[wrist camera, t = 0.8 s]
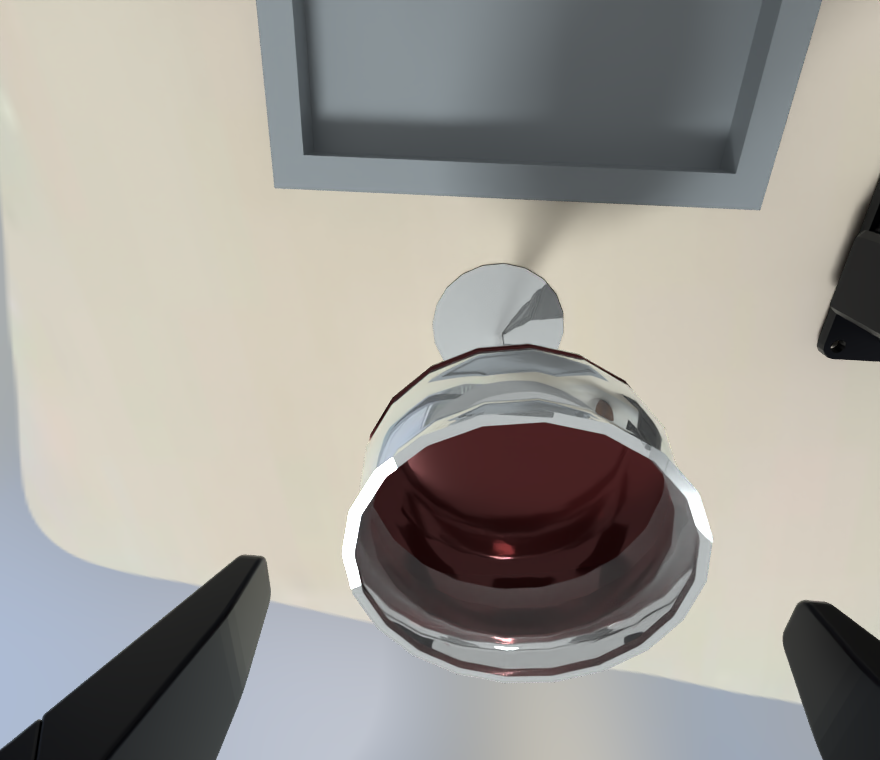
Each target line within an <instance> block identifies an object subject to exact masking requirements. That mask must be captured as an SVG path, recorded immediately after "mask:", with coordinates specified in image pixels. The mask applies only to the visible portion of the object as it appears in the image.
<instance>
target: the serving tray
mask: <svg viewBox="0 0 880 760" xmlns="http://www.w3.org/2000/svg"><path fill="white" fill-rule="evenodd" d="M821 2H822V0H256V5H257V15H258V26H259V36H260V46H261V56H262V66H263V76H264V86H265V96H266V106H267V116H268V127H269V137H270V147H271V157H272V167H273V177H274V187H275V188H283V189H305V190H327V191H349V192H371V193H393V194H415V195H437V196H459V197H481V198H503V199H525V200H547V201H569V202H591V203H613V204H635V205H657V206H679V207H701V208H723V209H745V210H760V209H761V205H762V202H763V199H764V195H765V192H766V188H767V185H768V182H769V178H770V175H771V171H772V168H773V165H774V161H775V158H776V155H777V151H778V148H779V144H780V141H781V138H782V134H783V131H784V127H785V124H786V121H787V117H788V114H789V110H790V107H791V104H792V100H793V97H794V93H795V90H796V87H797V83H798V80H799V77H800V73H801V70H802V66H803V63H804V60H805V56H806V53H807V49H808V46H809V43H810V39H811V36H812V32H813V29H814V26H815V22H816V19H817V15H818V12H819V9H820V5H821Z"/></svg>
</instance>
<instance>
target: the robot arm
mask: <svg viewBox="0 0 880 760" xmlns="http://www.w3.org/2000/svg"><path fill="white" fill-rule="evenodd" d="M830 306H831V308H830V311H829V313H828V316H827V319H826V321H825V324H824V326H823V329H822V332H821V334H820V337H819V339H818V343H817V348H818V350H819V351H820V352H821V353H822V354H824V355H825V356H826V357H828V358H831V359H843V360H861V361H879V362H880V181H879V183H878V185H877V188H876V191H875V193H874V196H873V198H872V201H871V204H870V206H869V209H868V211H867V214H866V217H865V219H864V222H863V224H862V227H861V230H860V232H859V235H858V236H857V237H856V238H855V240H854V243H853V246H852V248H851V251H850V254H849V256H848V259H847V261H846V264H845V267H844V269H843V272H842V274H841V277H840V280H839V282H838V285H837V288H836V290H835V293H834V295H833V298H832V301H831V303H830ZM837 340H839V343H838V344H837V346H835V347H834V348H831V345H832V344H833V343H834V342H835V341H837ZM270 596H271V588H270V581H269V575H268V568H267V562H266V559H265V558H264V557H262V556H256V555H241V556H239V557H237V558H236V559H235V560H233V561H232V562H231V563H230V564H228V565H227V566H226V567H225V568H224V569H222V570H221V571H220V572H219V573H217V574H216V575H215V576H214V577H213V578H211V579H210V580H209V581H208V582H206V583H205V584H204V585H203V586H201V587H200V588H199V589H198V590H197V591H195V592H194V593H193V594H192V595H190V596H189V597H188V598H187V599H185V600H184V601H183V602H182V603H181V604H179V605H178V606H177V607H176V608H174V609H173V610H172V611H171V612H169V613H168V614H167V615H166V616H165V617H163V618H162V619H161V620H160V621H159V622H157V623H156V624H155V625H153V626H152V627H151V628H150V629H149V630H147V631H146V632H145V633H144V634H142V635H141V636H140V637H139V638H138V639H136V640H135V641H134V642H133V643H131V644H130V645H129V646H128V647H126V648H125V649H124V650H123V651H122V652H120V653H119V654H118V655H117V656H115V657H114V658H113V659H112V660H111V661H109V662H108V663H107V664H106V665H104V666H103V667H102V668H101V669H100V670H98V671H97V672H96V673H95V674H93V675H92V676H91V677H90V678H88V679H87V680H86V681H85V682H83V683H82V684H81V685H80V686H78V687H77V688H76V689H75V690H74V691H72V692H71V693H70V694H69V695H67V696H66V697H65V698H64V699H63V700H61V701H60V702H59V703H58V704H57V705H55V706H54V707H53V708H51V709H50V710H49V711H48V712H47V713H45V714H44V716H43V718H42V720H40V719H39V720H37V721H35V722H34V723H33V724H31V725H30V726H29V727H28V728H27V729H25V730H24V731H23V732H22V733H20V734H19V735H18V736H17V737H16V738H14V739H13V740H12V741H11V742H9V743H8V744H7V745H6V746H4V747H3V748H2V749H1V750H0V760H216V758H217V756H218V753H219V751H220V749H221V746H222V744H223V741H224V739H225V736H226V734H227V731H228V729H229V726H230V724H231V722H232V719H233V717H234V714H235V712H236V709H237V707H238V704H239V701H240V699H241V696H242V693H243V690H244V687H245V684H246V681H247V678H248V674H249V671H250V668H251V664H252V660H253V657H254V654H255V650H256V647H257V643H258V640H259V637H260V633H261V630H262V626H263V623H264V619H265V616H266V613H267V609H268V606H269V602H270ZM783 646H784V650H785V653H786V656H787V659H788V662H789V665H790V668H791V671H792V674H793V677H794V680H795V683H796V686H797V689H798V692H799V695H800V698H801V701H802V704H803V707H804V709H805V713H806V715H807V719H808V722H809V725H810V727H811V730H812V733H813V736H814V739H815V741H816V744H817V747H818V749H819V751H820V754H821V756H822V759H823V760H880V640H878V639H877V638H876V637H874V636H873V635H872V634H870V633H869V632H868V631H866V630H865V629H864V628H862V627H861V626H860V625H858V624H857V623H856V622H854V621H853V620H852V619H850V618H849V617H848V616H846V615H845V614H844V613H842V612H841V611H840V610H838V609H837V608H836V607H834V606H833V605H831V604H829V603H827V602H822V601H809V600H803V601H801V602H799V603H798V604H797V605H796V607H795V609H794V611H793V613H792V615H791V618H790V620H789V622H788V624H787V626H786V628H785V630H784V632H783Z"/></svg>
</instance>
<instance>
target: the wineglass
mask: <svg viewBox="0 0 880 760" xmlns="http://www.w3.org/2000/svg"><path fill="white" fill-rule="evenodd" d="M433 331H434V339H435V344H436V346H437V348H438V350H439V352H440V354H441V356H442V358H443V360H444V361H442V362H439V363H437V364H434V365H432V366H431V367H430V368H428V369H427V370H426V371H425V372H423V373H422V374H421V375H420V376H418V377H417V378H416V379H415V380H414V381H412V382H411V383H410V384H409V385H407V386H406V387H405V388H404V389H402V390H401V391H400V392H399V393H398V394H396V395H395V396H394V397H393V398H392V399H391V401H390V403H389V404H388V406H387V408H386V409H385V411H384V413H383V414H382V416H381V418H380V419H379V421H378V423H377V424H376V426H375V428H374V429H373V431H372V432H371V434H370V440H369V443H368V445H367V446H366V451H365V457H364V463H363V469H362V475H361V481H360V495H359V497H358V498H357V500H356V501H355V503H354V505H353V506H352V508H351V509H350V511H349V516H348V522H347V528H346V534H345V541H344V547H343V553H342V555H343V559H344V562H345V566H346V570H347V574H348V578H349V582H350V585H351V589H352V593H353V595H354V597H355V598H356V599H357V601H358V602H359V604H360V605H361V606H362V608H363V609H364V611H365V612H366V613H367V615H368V616H369V618H370V619H371V620H372V622H373V623H374V625H375V626H376V627H377V629H379V630H380V631H381V632H383V633H384V634H385V635H386V636H388V637H389V638H391V639H392V640H393V641H394V642H396V643H397V644H398V645H400V646H401V647H402V648H404V649H405V650H407V651H408V652H409V653H411V654H412V655H413V656H415V657H417V658H420V659H422V660H425V661H427V662H429V663H432V664H434V665H436V666H439V667H441V668H443V669H446V670H448V671H451V672H453V673H455V674H459V675H465V676H470V677H475V678H481V679H486V680H491V681H497V682H502V683H531V682H532V683H533V682H557V681H562V680H566V679H571V678H575V677H579V676H584V675H589V674H593V673H597V672H602V671H605V670H607V669H609V668H611V667H613V666H615V665H618V664H620V663H622V662H624V661H626V660H628V659H630V658H632V657H634V656H637V655H639V654H641V653H643V652H645V651H647V650H649V649H650V648H651V647H652V646H653V645H654V644H656V643H657V642H658V641H659V640H660V639H661V638H663V637H664V636H665V635H666V634H667V633H669V632H670V631H671V630H672V629H673V628H674V627H676V626H677V625H678V624H679V623H680V622H682V621H683V620H684V618H685V616H686V615H687V613H688V611H689V610H690V608H691V607H692V605H693V603H694V602H695V600H696V598H697V597H698V595H699V593H700V592H701V590H702V588H703V587H704V585H705V583H706V582H707V575H708V569H709V562H710V555H711V548H712V541H713V536H712V533H711V530H710V527H709V523H708V520H707V517H706V513H705V510H704V507H703V504H702V500H701V497H700V494H699V492H698V491H697V490H696V489H695V488H694V487H693V485H692V484H691V483H690V482H689V481H688V480H687V478H686V477H685V476H684V475H683V474H682V473H681V472H680V470H679V469H678V467H677V464H676V461H675V458H674V455H673V452H672V448H671V445H670V442H669V439H668V436H667V433H666V430H665V427H664V426H663V425H662V424H661V422H660V421H659V420H658V419H657V418H656V417H655V415H654V414H653V413H652V412H651V411H650V409H649V408H648V407H647V406H646V405H645V404H644V402H643V401H642V400H641V399H640V398H639V396H638V395H637V394H636V393H635V392H634V391H633V390H632V388H631V387H630V386H629V385H628V384H627V383H626V381H624V380H623V379H621V378H620V377H618V376H616V375H615V374H613V373H611V372H609V371H608V370H606V369H604V368H602V367H601V366H599V365H597V364H595V363H594V362H592V361H590V360H588V359H587V358H585V357H583V356H581V355H580V354H577V353H572V352H568V351H563V350H559V349H558V347H559V344H560V341H561V338H562V335H563V312H562V309H561V306H560V304H559V301H558V298H557V295H556V294H555V293H554V291H553V290H552V289H551V288H550V287H549V286H548V284H547V283H546V282H545V281H544V280H543V279H542V278H540V277H539V276H537V275H535V274H534V273H532V272H530V271H529V270H527V269H525V268H521V267H516V266H512V265H507V264H497V265H487V266H481V267H479V268H476V269H474V270H472V271H469V272H467V273H465V274H463V275H461V276H460V277H459V278H458V279H457V280H456V281H455V282H453V283H452V284H451V285H450V286H449V287H448V288H447V289H446V290H445V292H444V294H443V295H442V297H441V299H440V301H439V302H438V304H437V306H436V311H435V315H434V320H433Z"/></svg>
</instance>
